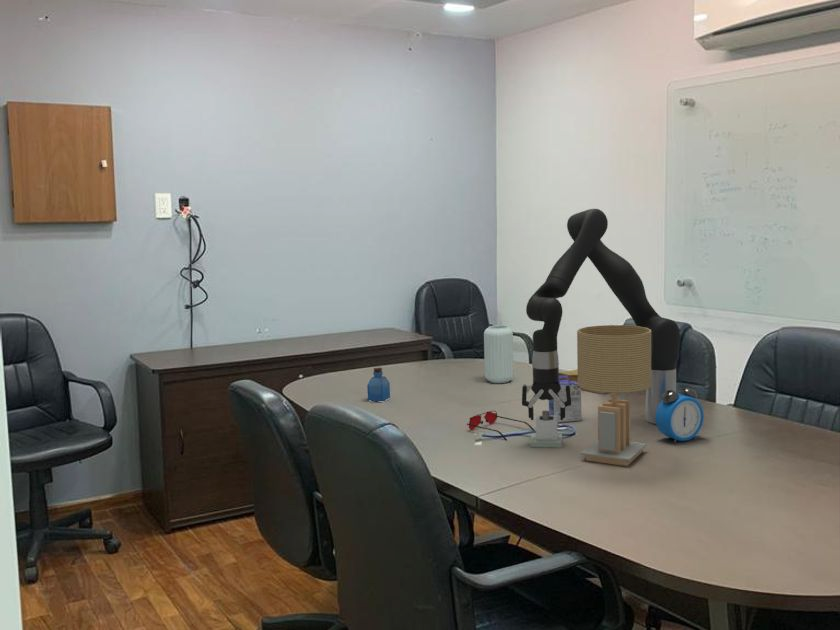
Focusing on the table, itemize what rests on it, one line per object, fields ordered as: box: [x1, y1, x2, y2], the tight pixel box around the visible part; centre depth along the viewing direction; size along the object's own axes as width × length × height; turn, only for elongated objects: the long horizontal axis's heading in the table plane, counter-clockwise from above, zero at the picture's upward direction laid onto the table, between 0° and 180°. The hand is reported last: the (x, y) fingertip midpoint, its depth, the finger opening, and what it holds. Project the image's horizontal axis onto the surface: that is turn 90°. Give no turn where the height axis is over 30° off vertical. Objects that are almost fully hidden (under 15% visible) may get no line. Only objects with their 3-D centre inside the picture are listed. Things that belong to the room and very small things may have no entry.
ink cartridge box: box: [548, 375, 583, 424], centre depth 259 cm, size 10×6×14 cm, turn 102°
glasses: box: [466, 410, 536, 441], centre depth 250 cm, size 14×16×5 cm
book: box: [559, 368, 612, 396], centre depth 306 cm, size 25×17×6 cm
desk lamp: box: [576, 324, 652, 467], centre depth 218 cm, size 20×20×35 cm
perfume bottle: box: [367, 367, 391, 402], centre depth 296 cm, size 6×6×12 cm
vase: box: [483, 324, 514, 384], centre depth 320 cm, size 12×12×22 cm
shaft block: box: [529, 410, 563, 449], centre depth 235 cm, size 9×9×10 cm
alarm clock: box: [655, 387, 705, 443], centre depth 233 cm, size 13×6×15 cm, turn 113°
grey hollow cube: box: [535, 414, 558, 441], centre depth 235 cm, size 6×6×6 cm
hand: (546, 419), depth 234 cm, fingers open, 8 cm apart
